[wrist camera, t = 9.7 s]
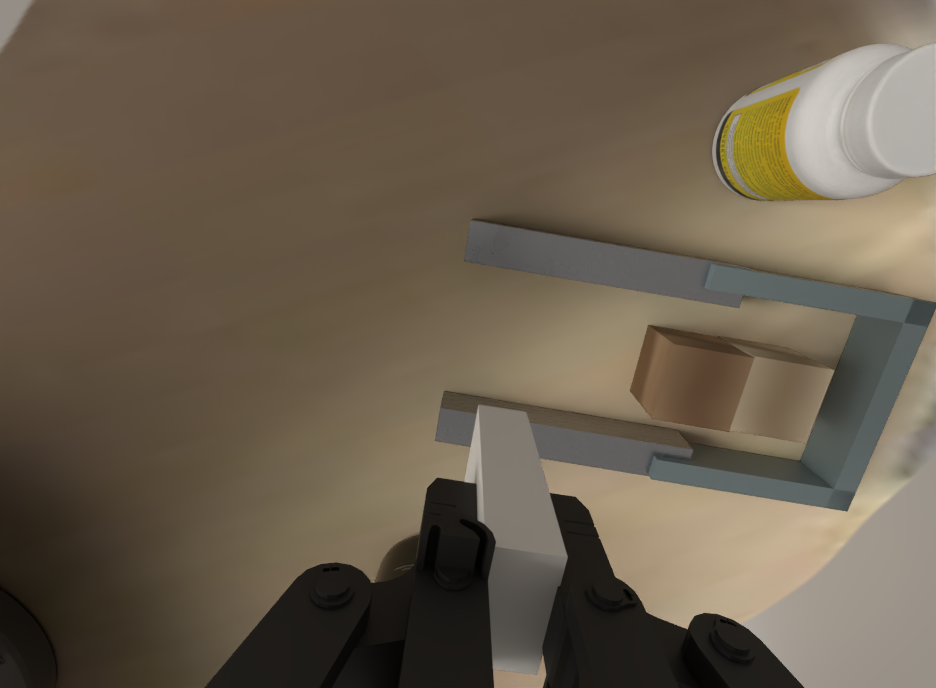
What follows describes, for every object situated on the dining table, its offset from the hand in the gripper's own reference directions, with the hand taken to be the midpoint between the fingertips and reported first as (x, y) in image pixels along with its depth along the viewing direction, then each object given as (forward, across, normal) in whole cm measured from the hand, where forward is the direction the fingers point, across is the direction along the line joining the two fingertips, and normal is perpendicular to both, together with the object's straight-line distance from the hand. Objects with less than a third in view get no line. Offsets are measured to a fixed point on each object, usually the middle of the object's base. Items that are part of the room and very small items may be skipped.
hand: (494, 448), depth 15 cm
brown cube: (+13, +11, 0) cm, 17 cm away
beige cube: (+13, +15, 0) cm, 20 cm away
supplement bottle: (+13, +12, +12) cm, 22 cm away
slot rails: (+13, +5, 0) cm, 14 cm away
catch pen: (+13, +16, 0) cm, 20 cm away
